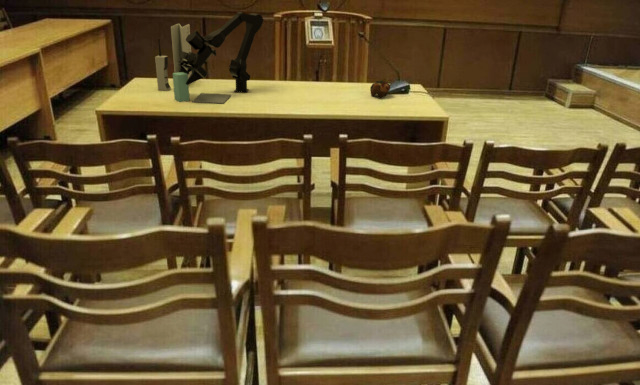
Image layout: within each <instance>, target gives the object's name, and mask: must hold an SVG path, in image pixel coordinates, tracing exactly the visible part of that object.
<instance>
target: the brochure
mask: <svg viewBox="0 0 640 385" xmlns="http://www.w3.org/2000/svg"><path fill="white" fill-rule="evenodd" d="M170 34H171V42H172V43H171V44H172V45H171V46H172V57H173V68H174V70H173V71H174V72H173V73H179V70H180V68H179V66H178V62H179V61H180V60H185V59H183V58H180V55H181V52H182V51H183V52H186V53H189V52H192V46H191V45H190V44H189V43H188V42H187V41H186V38H187V36H188V35H190V34H191V27H190V24H189V23H188V24H186V25H184V26H182V25H181V24H180V23H176V24H174V25H171V26H170ZM185 61H187V60H185ZM191 74H192V71H190V72H189V74H188V79H189V77H190V75H191ZM190 85H191V84H189V85H188V86H189V87H190Z"/></svg>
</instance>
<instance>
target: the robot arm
mask: <svg viewBox="0 0 640 385" xmlns="http://www.w3.org/2000/svg"><path fill="white" fill-rule="evenodd" d="M244 22H245V32H244V35H243V38H242V42H241V44H240V48H239V51H238V53H237V56H236V58H235V59H231V60H230V64H229V66H228V68H229V69H228V70H229V73H230V75H231V76H232V78H233V79H234V80H235V89H234V90H233V93H242V94H243V93H244V94H245V93H248V92H249V90H250V89H249V88H248V81H251V75H250V74H249V73H248V72H247V69H248V67H247V66H248V64H247V61H248V60H247V59H248V57H249V54H250V51H251V48H252V46H253V43H254V39H255V37H256V34H257V33H258V31H260V29H261V28H262V26H263V24H264V18H263V15H261V14H259V13H254V12H253V13H252V12H251V13H249V14H248V13H244V12H241V11H238V12H236V13H235V14H234V15H233V16H232V17H231V18H230V19H228V20H227V21H226V22H225V24H223V25H222V26H221V27H220V28H218V29H216V30H214V31H211V32H209V33H208V34H207V35H206V36H202V34H200V32H199V31H198V30H194V31H193V32H190V35H188V36H187V38H186V41H187V42H188V43H189V44H190V45H191V48H193V50H194V51H196V50H197V52H196V53H194V52H192V51H191V52H189V53H186V52H183V51H182V52H181V55H180V58H183V59H185V60H187V61H185V60H180V61H179V62H178V66H179V68H180V70H179V72H184V73H186V74H189V72H190V71H192V74H191V75H190V77H189V79H188V80H187V82H186V84H187V85H189V84H190V85H192V84H193V83H195V82H196V81H199V80H201V79H204V78H206V77H208V70H206V69H205V68H204V67H203V66H204V65H207V64H208V62H207V61H208V59H209V58H210V57H211V56H215V57H216V56H217V50H216V49H217V48H220V47H221V46H222V45H223V44H224V42H225V41H226V38H227V37H228V36H229V35H230V34H231V33H232V32H233V31H234V30H236V29H237V28H238V27H239V26H240V25H241V24H242V23H244ZM215 48H216V49H215ZM190 85H189V86H190Z"/></svg>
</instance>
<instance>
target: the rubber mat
mask: <svg viewBox="0 0 640 385" xmlns="http://www.w3.org/2000/svg"><path fill="white" fill-rule="evenodd" d="M231 97H232V94H225V93H209V92H208V93H206V92H201V93H199V94H198V95H197V96H196V97H195V98H194V99H193V100H191V103H193V104H194V103H200V104H214V105H217V104H218V105H225V103H226V102H227V101H228V100H229V99H230V98H231Z"/></svg>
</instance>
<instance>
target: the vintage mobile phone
mask: <svg viewBox="0 0 640 385" xmlns="http://www.w3.org/2000/svg"><path fill="white" fill-rule="evenodd" d="M157 40H158V54H159V55H156V56H154V59H155V61H154V62H155V71H156V81H157V82H156V83H157V90H158V91H162V92H168V91H170V90H171V89H172V88H171V86H170V83H169V75H168V67H169V56H168V55H162V50H161V41H160V38H157Z"/></svg>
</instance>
